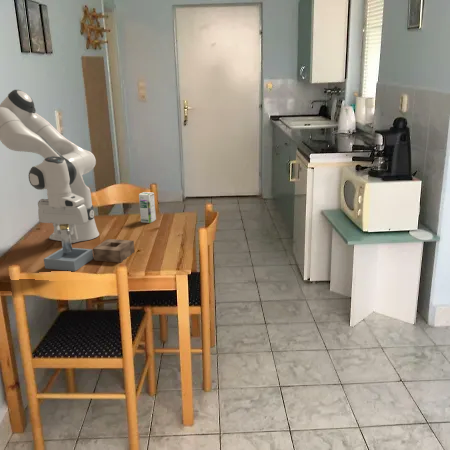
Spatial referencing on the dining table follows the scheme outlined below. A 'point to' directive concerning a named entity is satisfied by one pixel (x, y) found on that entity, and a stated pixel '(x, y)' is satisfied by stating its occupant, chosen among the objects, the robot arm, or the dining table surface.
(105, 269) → the dining table surface
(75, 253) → the grey tray
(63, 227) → the metal pin
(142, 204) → the syrup box
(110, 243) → the walnut block
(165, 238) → the dining table surface
